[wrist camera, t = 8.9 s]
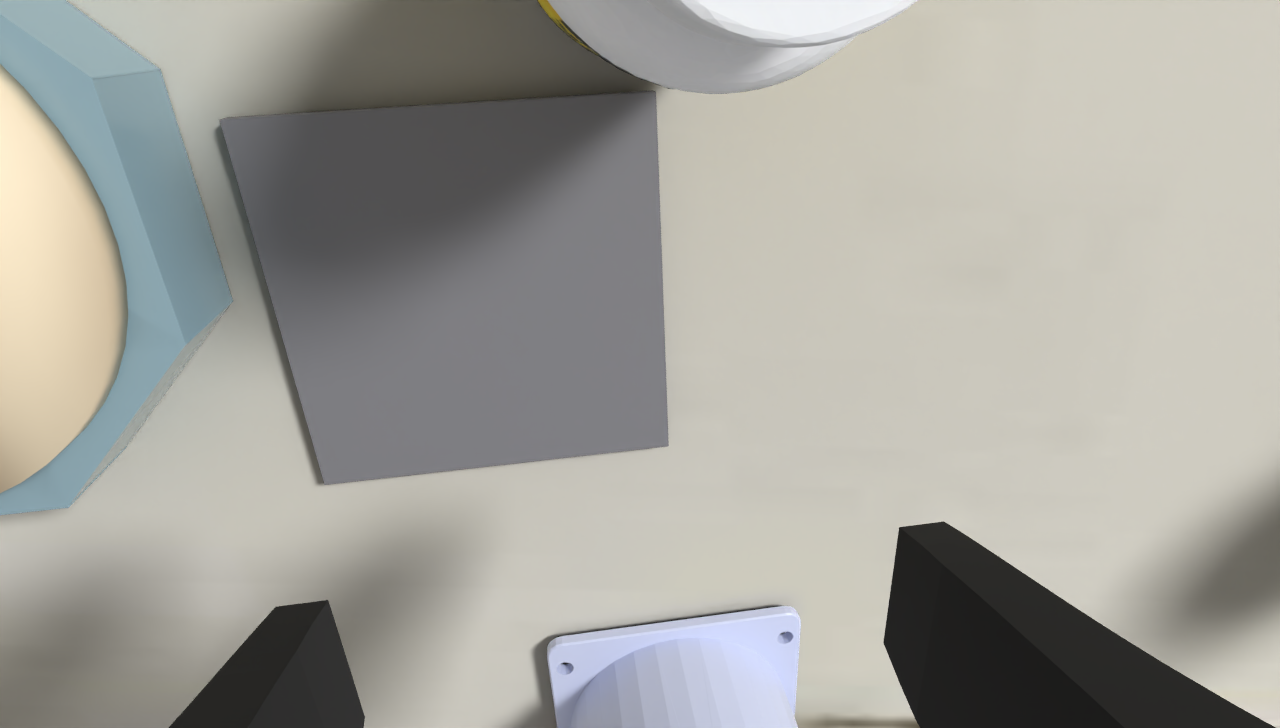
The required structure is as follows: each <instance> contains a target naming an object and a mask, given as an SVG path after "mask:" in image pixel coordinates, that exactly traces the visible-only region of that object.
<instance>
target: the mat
mask: <svg viewBox="0 0 1280 728" xmlns="http://www.w3.org/2000/svg"><path fill="white" fill-rule="evenodd" d="M219 121H220V124H221V127H222V131H223V134H224V138H225V141H226V145H227V148H228V152H229V155H230V159H231V162H232V166H233V169H234V172H235V176H236V179H237V183H238V186H239V190H240V193H241V197H242V200H243V204H244V207H245V211H246V214H247V218H248V221H249V224H250V228H251V231H252V235H253V238H254V242H255V245H256V249H257V252H258V256H259V259H260V263H261V266H262V269H263V273H264V276H265V280H266V283H267V287H268V290H269V294H270V297H271V301H272V304H273V308H274V311H275V315H276V318H277V321H278V325H279V328H280V332H281V335H282V339H283V342H284V346H285V349H286V353H287V356H288V360H289V363H290V366H291V370H292V373H293V377H294V380H295V384H296V387H297V391H298V394H299V398H300V401H301V405H302V408H303V412H304V415H305V418H306V422H307V425H308V429H309V432H310V436H311V439H312V443H313V446H314V450H315V453H316V457H317V460H318V463H319V467H320V470H321V474H322V477H323V481H324V484H325V485H327V484H336V483H345V482H354V481H363V480H372V479H381V478H390V477H398V476H407V475H416V474H425V473H434V472H443V471H452V470H461V469H470V468H479V467H488V466H496V465H505V464H514V463H523V462H532V461H541V460H550V459H559V458H568V457H577V456H586V455H594V454H603V453H612V452H621V451H630V450H639V449H648V448H657V447H666V446H669V445H668V417H667V390H666V362H665V334H664V306H663V278H662V250H661V222H660V194H659V166H658V138H657V110H656V92H655V91H637V92H622V93H606V94H590V95H574V96H558V97H543V98H527V99H511V100H495V101H479V102H464V103H448V104H432V105H416V106H400V107H385V108H369V109H353V110H337V111H322V112H306V113H290V114H274V115H258V116H243V117H227V118H224V119H220V120H219Z"/></svg>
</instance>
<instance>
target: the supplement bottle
mask: <svg viewBox="0 0 1280 728" xmlns="http://www.w3.org/2000/svg"><path fill="white" fill-rule="evenodd" d="M537 1H538V3H539V4H540V6H541V7H542V8H543V10H544V11H545V12H546V13H547V15H548V16H549V17H550V19H551V20H552V21H553V22H554V23H555V24H556V25H557V26H558V27H559V28H560V29H561V30H562V31H564V32H565V33H566V34H567V35H568V36H569V37H570V38H572V39H573V40H574V41H576V42H577V43H579V44H580V45H582V46H583V47H584V48H586V49H587V50H588V51H590V52H593V53H594V54H596V55H598V56H600V57H601V58H602V59H604V60H605V61H607V62H609V63H610V64H612V65H614V66H615V67H616V68H618V69H620V70H622V71H624V72H626V73H628V74H631V75H633V76H636V77H638V78H641V79H643V80H646V81H650V82H652V83H655V84H657V85H660V86H663V87H666V88H668V89H678V90H682V91H687V92H697V93H706V94H727V93H738V92H745V91H751V90H756V89H761V88H765V87H769V86H772V85H775V84H778V83H781V82H784V81H787V80H789V79H792V78H795V77H797V76H799V75H801V74H803V73H805V72H806V71H808V70H810V69H812V68H814V67H815V66H817V65H819V64H821V63H822V62H824V61H826V60H827V59H828V58H830V57H831V56H833V55H834V54H835V53H837V52H838V51H839V50H841V49H842V48H843V47H845V46H846V45H847V44H849V43H850V42H851V41H852V40H853V39H854V38H855V37H856V36H857V35H859V34H861V33H864V32H866V31H869V30H871V29H873V28H875V27H877V26H879V25H881V24H883V23H885V22H887V21H888V20H890V19H892V18H894V17H895V16H897V15H899V14H900V13H902V12H903V11H905V10H906V9H907V8H909V7H910V6H911V5H913V4H914V3H915V2H917V1H918V0H537Z"/></svg>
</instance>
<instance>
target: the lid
mask: <svg viewBox="0 0 1280 728" xmlns="http://www.w3.org/2000/svg"><path fill="white" fill-rule="evenodd" d="M127 325H128V300H127V286H126V278H125V273H124V269H123V264H122V260H121V255H120V250H119V246H118V243H117V240H116V237H115V235H114V232H113V229H112V226H111V224H110V221H109V218H108V215H107V213H106V210H105V207H104V205H103V203H102V201H101V199H100V197H99V196H98V194H97V192H96V190H95V188H94V186H93V184H92V182H91V180H90V178H89V176H88V174H87V172H86V170H85V168H84V167H83V165H82V164H81V162H80V161H79V159H78V158H77V156H76V155H75V153H74V152H73V150H72V149H71V147H70V146H69V144H68V143H67V141H66V140H65V138H64V137H63V135H62V134H61V132H60V130H59V129H58V128H57V127H56V125H55V124H54V123H53V122H52V121H51V119H50V118H49V117H48V116H47V114H46V113H45V112H44V111H43V110H42V108H41V107H40V106H39V105H38V103H37V102H36V101H35V100H34V99H33V97H32V96H31V95H30V94H29V93H28V91H27V90H26V89H25V88H24V87H23V86H22V85H21V84H20V83H19V82H18V81H17V80H16V79H15V78H14V77H13V76H12V75H11V74H10V73H9V72H8V71H7V70H6V69H5V68H4V67H3V66H2V65H1V64H0V493H2V492H4V491H6V490H8V489H10V488H12V487H14V486H16V485H18V484H20V483H22V482H23V481H24V480H26V479H27V478H29V477H30V476H32V475H33V474H34V473H36V472H37V471H39V470H40V469H41V468H43V467H44V466H46V465H47V464H48V463H49V462H50V461H51V460H53V459H54V458H55V457H56V456H57V455H58V454H59V453H60V452H61V451H62V450H64V449H65V448H66V447H67V446H68V445H69V444H70V443H71V442H72V441H73V440H74V439H75V438H76V437H77V436H78V435H79V434H80V433H81V432H82V431H83V430H84V429H85V428H86V427H87V426H88V425H89V424H90V422H91V421H92V420H93V418H94V417H95V415H96V414H97V413H98V411H99V410H100V408H101V407H102V406H103V404H104V403H105V401H106V399H107V397H108V395H109V393H110V391H111V389H112V386H113V384H114V382H115V380H116V378H117V376H118V372H119V369H120V365H121V361H122V358H123V354H124V350H125V347H126V336H127Z"/></svg>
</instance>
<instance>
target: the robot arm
mask: <svg viewBox="0 0 1280 728" xmlns="http://www.w3.org/2000/svg"><path fill="white" fill-rule="evenodd" d="M800 628H801V621H800V617H799V615H798V613H797V611H796V610H795V609H794V608H793V607H790V606H779V607H772V608H765V609H757V610H750V611H743V612H735V613H728V614H721V615H713V616H706V617H699V618H691V619H684V620H677V621H669V622H662V623H655V624H647V625H640V626H633V627H625V628H618V629H611V630H603V631H596V632H589V633H581V634H574V635H567V636H561V637H557V638H555V639H553V640H552V641H550V643H549V644H548V646H547V661H548V668H549V674H550V681H551V688H552V695H553V702H554V709H555V716H556V723H557V728H798V725H797V723H796V720H795V702H796V687H797V673H798V658H799V643H800ZM785 631H787V632H786V633H784V634H781V633H783V632H785ZM884 645H885V648H886V650H887V653H888V655H889V657H890V660H891V662H892V665H893V667H894V670H895V672H896V675H897V677H898V680H899V682H900V685H901V687H902V689H903V692H904V694H905V696H906V698H907V701H908V703H909V705H910V708H911V710H912V712H913V714H914V717H915V719H916V721H917V723H918V725H919V726H920V728H1275V727H1273V726H1272V725H1270V724H1268V723H1266V722H1264V721H1263V720H1261V719H1259V718H1257V717H1255V716H1254V715H1252V714H1250V713H1248V712H1246V711H1245V710H1243V709H1241V708H1239V707H1237V706H1236V705H1234V704H1232V703H1230V702H1229V701H1227V700H1225V699H1223V698H1222V697H1220V696H1218V695H1217V694H1215V693H1213V692H1212V691H1210V690H1208V689H1207V688H1205V687H1203V686H1201V685H1200V684H1198V683H1196V682H1195V681H1193V680H1191V679H1190V678H1188V677H1186V676H1184V675H1183V674H1181V673H1179V672H1178V671H1176V670H1174V669H1173V668H1171V667H1169V666H1167V665H1166V664H1164V663H1162V662H1161V661H1159V660H1157V659H1156V658H1154V657H1153V656H1151V655H1149V654H1148V653H1146V652H1144V651H1143V650H1141V649H1140V648H1138V647H1136V646H1135V645H1133V644H1132V643H1130V642H1128V641H1127V640H1125V639H1123V638H1122V637H1120V636H1119V635H1117V634H1116V633H1114V632H1112V631H1111V630H1109V629H1108V628H1106V627H1105V626H1103V625H1101V624H1100V623H1098V622H1097V621H1095V620H1094V619H1092V618H1091V617H1089V616H1087V615H1086V614H1084V613H1083V612H1081V611H1080V610H1078V609H1077V608H1075V607H1074V606H1072V605H1070V604H1069V603H1067V602H1066V601H1064V600H1063V599H1061V598H1060V597H1058V596H1057V595H1055V594H1054V593H1052V592H1051V591H1049V590H1048V589H1046V588H1045V587H1043V586H1042V585H1040V584H1039V583H1037V582H1036V581H1034V580H1033V579H1031V578H1030V577H1028V576H1027V575H1025V574H1024V573H1022V572H1021V571H1019V570H1018V569H1016V568H1015V567H1013V566H1012V565H1010V564H1009V563H1007V562H1006V561H1004V560H1003V559H1001V558H1000V557H998V556H997V555H995V554H994V553H992V552H991V551H989V550H988V549H986V548H985V547H983V546H982V545H980V544H979V543H977V542H975V541H974V540H972V539H971V538H969V537H968V536H966V535H965V534H963V533H962V532H960V531H958V530H957V529H955V528H953V527H952V526H950V525H949V524H947V523H945V522H938V523H930V524H922V525H914V526H906V527H899V534H898V541H897V548H896V555H895V563H894V570H893V577H892V585H891V592H890V599H889V607H888V614H887V621H886V628H885V636H884ZM564 662H566V663H569V664H566V665H564V664H561V663H564ZM364 719H365V716H364V713H363V710H362V707H361V704H360V700H359V697H358V694H357V691H356V688H355V684H354V681H353V678H352V675H351V672H350V668H349V665H348V662H347V659H346V656H345V652H344V649H343V646H342V643H341V640H340V636H339V633H338V630H337V627H336V624H335V620H334V617H333V614H332V611H331V608H330V604H329V601H328V600H326V601H318V602H310V603H302V604H294V605H287V606H279V607H275V608H274V610H273V611H272V612H271V613H270V614H269V615H268V616H267V617H266V618H265V619H264V621H263V622H262V623H261V624H260V625H259V626H258V627H257V628H256V630H255V631H254V632H253V633H252V634H251V635H250V636H249V637H248V638H247V640H246V641H245V642H244V643H243V644H242V645H241V646H240V648H239V649H238V650H237V651H236V652H235V653H234V654H233V655H232V657H231V658H230V659H229V660H228V661H227V662H226V663H225V665H224V666H223V667H222V668H221V669H220V670H219V671H218V673H217V674H216V675H215V676H214V677H213V678H212V679H211V681H210V682H209V683H208V684H207V685H206V686H205V687H204V689H203V690H202V691H201V692H200V693H199V694H198V695H197V697H196V698H195V699H194V700H193V701H192V702H191V703H190V704H189V706H188V707H187V708H186V709H185V710H184V711H183V712H182V714H181V715H180V716H179V717H178V718H177V719H176V720H175V721H174V722H173V724H172V725H171V726H170V727H169V728H363V727H364Z"/></svg>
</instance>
